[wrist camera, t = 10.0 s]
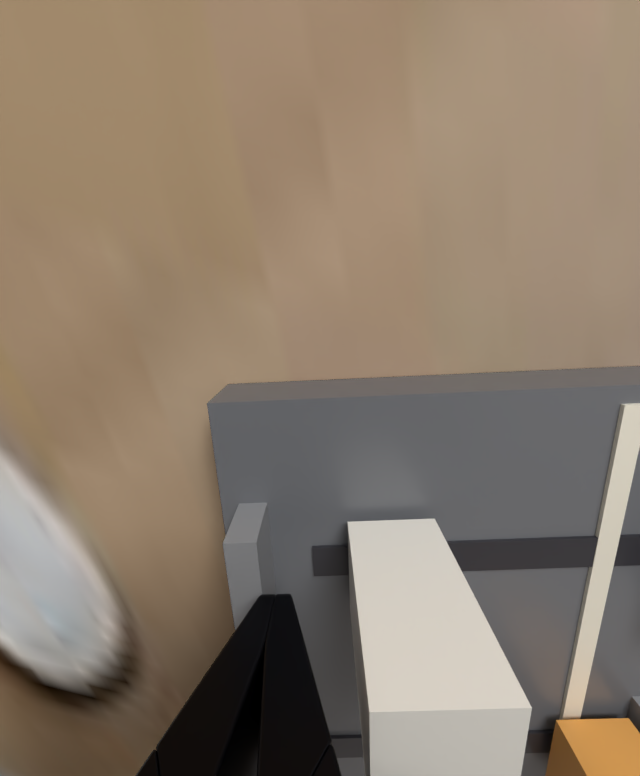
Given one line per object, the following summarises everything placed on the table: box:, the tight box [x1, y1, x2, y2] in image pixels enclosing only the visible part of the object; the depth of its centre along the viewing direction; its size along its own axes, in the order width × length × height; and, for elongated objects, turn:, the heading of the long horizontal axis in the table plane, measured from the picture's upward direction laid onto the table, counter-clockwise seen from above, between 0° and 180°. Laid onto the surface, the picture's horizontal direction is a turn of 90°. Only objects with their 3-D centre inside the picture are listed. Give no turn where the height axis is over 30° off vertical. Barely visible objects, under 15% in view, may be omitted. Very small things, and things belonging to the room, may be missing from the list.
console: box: [207, 366, 640, 776], centre depth 11 cm, size 18×15×4 cm
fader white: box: [347, 518, 532, 776], centre depth 7 cm, size 3×2×4 cm
